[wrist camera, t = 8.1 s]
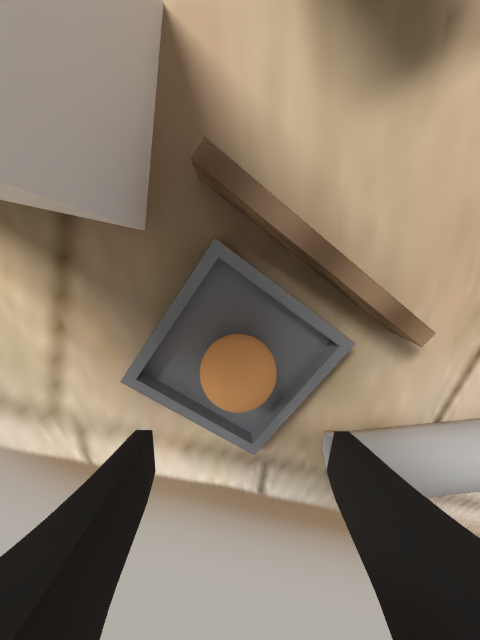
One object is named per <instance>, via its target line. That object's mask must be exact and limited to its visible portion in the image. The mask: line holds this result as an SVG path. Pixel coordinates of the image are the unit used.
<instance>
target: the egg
mask: <svg viewBox="0 0 480 640" xmlns="http://www.w3.org/2000/svg"><path fill="white" fill-rule="evenodd" d="M276 378H277V369H276V364H275V360H274V357H273V355H272V353H271V352H270V350H269V349H268V348H267V346H266V345H265V344H264V343H262V342H261V341H260V340H258V339H257V338H255V337H253V336H250V335H246V334H231V335H227V336H224V337H222V338H220V339H218V340H217V341H215V342H214V343H213V344H212V345H211V346H210V347H209V348H208V350H207V351H206V352H205V354H204V356H203V359H202V361H201V365H200V381H201V385H202V388H203V390H204V392H205V394H206V396H207V397H208V398H209V399H210V401H211V402H212V403H213V404H215V405H216V406H218V407H219V408H221V409H223V410H226V411H229V412H234V413H242V412H247V411H251V410H253V409H255V408H257V407H259V406H260V405H262V404H263V403H264V402H265V401H266V400H267V399H268V398H269V396H270V395H271V393H272V391H273V389H274V386H275V383H276Z"/></svg>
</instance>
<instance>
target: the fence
mask: <svg viewBox="0 0 480 640" xmlns="http://www.w3.org/2000/svg"><path fill="white" fill-rule="evenodd" d="M191 160H192V162H193V165H194V167H195V169H196V172H197V174H198V176H199V178H200V179H202V180H203V181H204V182H205V183H207V184H208V185H209V186H210V187H212V188H213V189H214V190H215V191H217V192H218V193H219V194H220V195H222V196H223V197H224V198H225V199H226V200H228V201H229V202H230V203H231V204H233V205H234V206H235V207H236V208H238V209H239V210H240V211H241V212H243V213H244V214H245V215H246V216H248V217H249V218H250V219H251V220H253V221H254V222H255V223H256V224H258V225H259V226H260V227H261V228H263V229H264V230H265V231H266V232H268V233H269V234H270V235H271V236H273V237H274V238H275V239H276V240H278V241H279V242H280V243H281V244H283V245H284V246H285V247H286V248H288V249H289V250H290V251H291V252H293V253H294V254H295V255H296V256H298V257H299V258H300V259H301V260H303V261H304V262H305V263H306V264H308V265H309V266H310V267H311V268H313V269H314V270H315V271H316V272H318V273H319V274H320V275H321V276H322V277H324V278H325V279H326V280H327V281H329V282H330V283H331V284H332V285H334V286H335V287H336V288H337V289H339V290H340V291H341V292H342V293H344V294H345V295H346V296H347V297H349V298H350V299H351V300H352V301H354V302H355V303H356V304H357V305H359V306H360V307H361V308H362V309H364V310H365V311H366V312H367V313H369V314H370V315H371V316H372V317H374V318H375V319H376V320H377V321H379V322H380V323H381V324H382V325H384V326H385V327H386V328H387V329H389V330H390V331H391V332H393V333H395V334H397V335H399V336H401V337H403V338H405V339H407V340H409V341H411V342H413V343H415V344H417V345H419V346H421V347H423V346H424V345H425V344H426V343H427V342H428V341H429V340H430V339H431V338H432V337H433V336H434V335H435V334H436V333H435V332H434V331H433V330H431V329H430V328H429V327H428V326H427V325H426V324H424V323H423V322H422V321H421V320H420V319H419V318H417V317H416V316H415V315H414V314H413V313H411V312H410V311H409V310H408V309H407V308H406V307H404V306H403V305H402V304H401V303H400V302H398V301H397V300H396V299H395V298H394V297H393V296H391V295H390V294H389V293H388V292H387V291H386V290H384V289H383V288H382V287H381V286H380V285H378V284H377V283H376V282H375V281H374V280H373V279H371V278H370V277H369V276H368V275H367V274H365V273H364V272H363V271H362V270H361V269H360V268H358V267H357V266H356V265H355V264H354V263H353V262H351V261H350V260H349V259H348V258H347V257H345V256H344V255H343V254H342V253H341V252H340V251H338V250H337V249H336V248H335V247H334V246H333V245H331V244H330V243H329V242H328V241H327V240H325V239H324V238H323V237H322V236H321V235H320V234H318V233H317V232H316V231H315V230H314V229H312V228H311V227H310V226H309V225H308V224H307V223H305V222H304V221H303V220H302V219H301V218H300V217H298V216H297V215H296V214H295V213H294V212H292V211H291V210H290V209H289V208H288V207H287V206H285V205H284V204H283V203H282V202H281V201H279V200H278V199H277V198H276V197H275V196H274V195H272V194H271V193H270V192H269V191H268V190H267V189H265V188H264V187H263V186H262V185H261V184H259V183H258V182H257V181H256V180H255V179H254V178H252V177H251V176H250V175H249V174H248V173H247V172H245V171H244V170H243V169H242V168H241V167H239V166H238V165H237V164H236V163H235V162H234V161H232V160H231V159H230V158H229V157H228V156H226V155H225V154H224V153H223V152H222V151H221V150H219V149H218V148H217V147H216V146H215V145H214V144H212V143H211V142H210V141H209V140H208V139H206V138H205V137H204V138H203V140H202V142H201V143H200V145H199V147H198V148H197V150H196V152H195V154H194V155H193V157H192V159H191Z"/></svg>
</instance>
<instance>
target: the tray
mask: <svg viewBox="0 0 480 640" xmlns="http://www.w3.org/2000/svg"><path fill="white" fill-rule="evenodd" d="M231 334H246V335H250V336H253V337H255V338H257V339H258V340H260V341H261V342H262V343H264V344H265V345H266V346H267V348H268V349H269V350H270V352H271V353H272V355H273V357H274V360H275V364H276V369H277V378H276V383H275V386H274V389H273V391H272V393H271V395H270V396H269V398H268V399H267V400H266V401H265V402H264V403H263V404H262V405H260V406H259V407H257V408H255V409H253V410H251V411H247V412H242V413H234V412H229V411H226V410H223V409H221V408H219V407H218V406H216V405H215V404H213V403H212V402H211V401H210V399H209V398H208V397H207V396H206V394H205V392H204V390H203V388H202V385H201V381H200V365H201V361H202V359H203V356H204V354H205V352H206V351H207V350H208V348H209V347H210V346H211V345H212V344H213V343H214V342H215V341H217V340H218V339H220V338H222V337H224V336H227V335H231ZM354 345H355V343H354V342H353V341H351V340H350V339H349V338H347V337H346V336H345V335H343V334H342V333H341V332H339V331H338V330H337V329H335V328H334V327H333V326H331V325H330V324H329V323H327V322H326V321H325V320H323V319H322V318H321V317H320V316H318V315H317V314H316V313H314V312H313V311H312V310H310V309H309V308H308V307H306V306H305V305H304V304H302V303H301V302H300V301H298V300H297V299H296V298H294V297H293V296H292V295H290V294H289V293H288V292H286V291H285V290H284V289H282V288H281V287H280V286H278V285H277V284H276V283H274V282H273V281H272V280H270V279H269V278H268V277H266V276H265V275H264V274H262V273H261V272H260V271H258V270H257V269H256V268H254V267H253V266H252V265H250V264H249V263H248V262H246V261H245V260H244V259H242V258H241V257H240V256H238V255H237V254H236V253H234V252H233V251H232V250H230V249H229V248H228V247H226V246H225V245H224V244H222V243H221V242H220V241H218V240H217V239H216V238H215V239H214V240H213V242H212V243H211V245H210V247H209V248H208V250H207V251H206V253H205V254H204V256H203V257H202V259H201V260H200V262H199V263H198V265H197V266H196V268H195V269H194V271H193V272H192V274H191V275H190V277H189V278H188V280H187V281H186V283H185V284H184V286H183V288H182V289H181V291H180V292H179V294H178V295H177V297H176V298H175V300H174V301H173V303H172V304H171V306H170V307H169V309H168V310H167V312H166V313H165V315H164V316H163V318H162V319H161V321H160V322H159V324H158V326H157V327H156V329H155V330H154V332H153V333H152V335H151V336H150V338H149V339H148V341H147V342H146V344H145V345H144V347H143V348H142V350H141V351H140V353H139V354H138V356H137V357H136V359H135V360H134V362H133V363H132V365H131V367H130V368H129V370H128V371H127V373H126V374H125V376H124V377H123V379H122V380H121V383H123V384H125V385H127V386H129V387H131V388H132V389H134V390H136V391H138V392H140V393H141V394H143V395H145V396H147V397H149V398H151V399H152V400H154V401H156V402H158V403H160V404H162V405H163V406H165V407H167V408H169V409H171V410H173V411H174V412H176V413H178V414H180V415H182V416H184V417H185V418H187V419H189V420H191V421H193V422H195V423H196V424H198V425H200V426H202V427H204V428H205V429H207V430H209V431H211V432H213V433H215V434H216V435H218V436H220V437H222V438H224V439H226V440H227V441H229V442H231V443H233V444H235V445H237V446H238V447H240V448H242V449H244V450H246V451H248V452H249V453H251V454H253V455H255V454H256V453H257V451H258V450H259V449H260V448H261V447H262V446H263V445H264V444H265V443H266V442H267V440H268V439H269V438H270V437H271V436H272V435H273V434H274V433H275V432H276V431H277V429H278V428H279V427H280V426H281V425H282V424H283V423H284V422H285V421H286V420H287V418H288V417H289V416H290V415H291V414H292V413H293V412H294V411H295V410H296V409H297V407H298V406H299V405H300V404H301V403H302V402H303V401H304V400H305V399H306V398H307V396H308V395H309V394H310V393H311V392H312V391H313V390H314V389H315V388H316V387H317V385H318V384H319V383H320V382H321V381H322V380H323V379H324V378H325V377H326V376H327V374H328V373H329V372H330V371H331V370H332V369H333V368H334V367H335V366H336V365H337V363H338V362H339V361H340V360H341V359H342V358H343V357H344V356H345V355H346V354H347V352H348V351H349V350H350V349H351V348H352V347H353V346H354Z"/></svg>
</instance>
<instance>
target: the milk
mask: <svg viewBox="0 0 480 640" xmlns="http://www.w3.org/2000/svg"><path fill="white" fill-rule="evenodd" d="M163 4H164V3H163V0H0V200H3V201H8V202H13V203H17V204H22V205H27V206H31V207H36V208H41V209H46V210H50V211H55V212H60V213H64V214H69V215H74V216H78V217H83V218H88V219H92V220H97V221H102V222H106V223H111V224H116V225H121V226H125V227H130V228H135V229H139V230H144V231H145V222H146V209H147V197H148V185H149V173H150V161H151V149H152V137H153V125H154V113H155V100H156V88H157V76H158V64H159V52H160V40H161V28H162V16H163Z"/></svg>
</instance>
